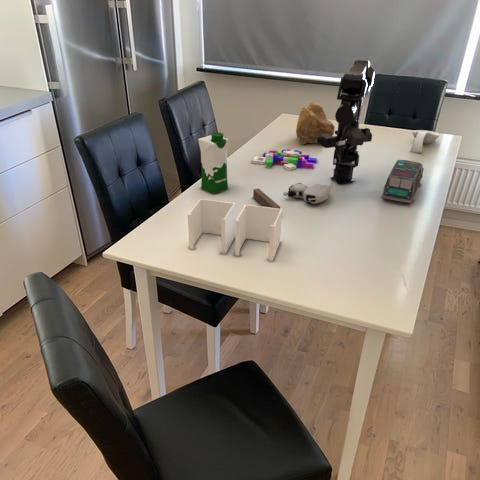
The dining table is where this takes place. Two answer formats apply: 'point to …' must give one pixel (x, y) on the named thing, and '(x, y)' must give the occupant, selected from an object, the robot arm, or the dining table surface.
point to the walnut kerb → (264, 199)
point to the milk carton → (214, 162)
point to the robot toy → (309, 192)
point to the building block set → (286, 159)
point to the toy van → (403, 181)
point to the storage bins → (223, 223)
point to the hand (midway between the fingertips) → (341, 163)
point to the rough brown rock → (313, 124)
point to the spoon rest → (422, 139)
